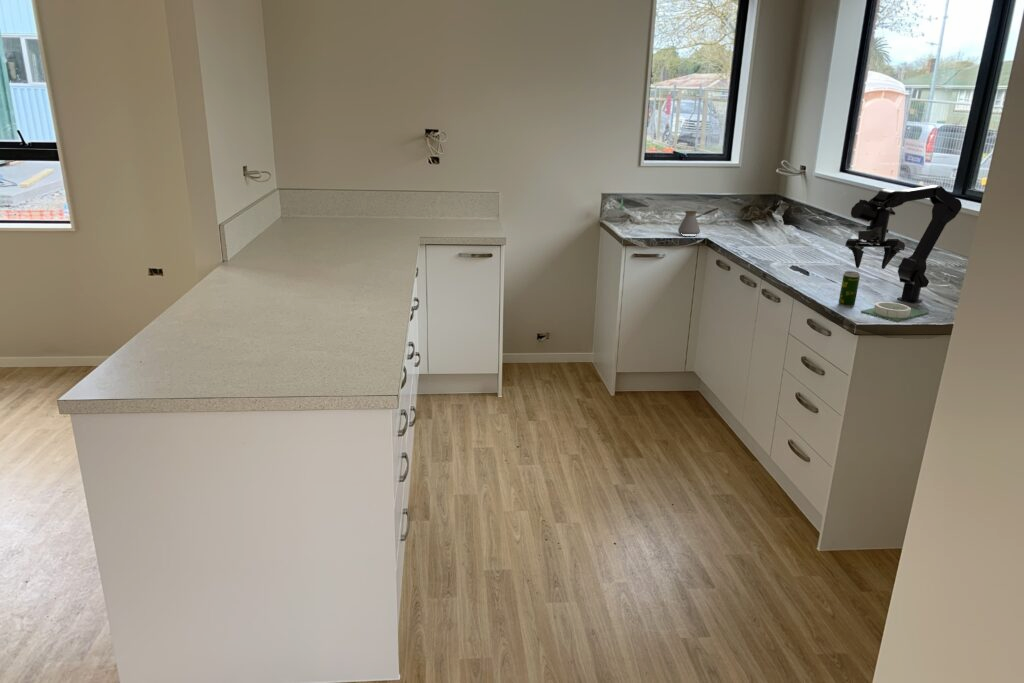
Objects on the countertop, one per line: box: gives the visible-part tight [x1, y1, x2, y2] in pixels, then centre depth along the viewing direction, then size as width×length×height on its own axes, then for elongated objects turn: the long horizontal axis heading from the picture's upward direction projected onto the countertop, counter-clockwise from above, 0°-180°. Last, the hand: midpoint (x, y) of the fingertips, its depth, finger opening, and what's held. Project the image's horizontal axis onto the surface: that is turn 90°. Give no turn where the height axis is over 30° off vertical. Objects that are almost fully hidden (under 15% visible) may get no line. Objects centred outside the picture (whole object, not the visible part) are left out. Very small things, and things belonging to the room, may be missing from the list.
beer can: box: [838, 270, 861, 308], centre depth 259 cm, size 5×5×12 cm
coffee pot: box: [677, 207, 720, 235], centre depth 386 cm, size 21×12×15 cm, turn 99°
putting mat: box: [860, 307, 929, 323], centre depth 253 cm, size 20×13×1 cm, turn 124°
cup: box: [873, 301, 912, 318], centre depth 251 cm, size 11×11×2 cm
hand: (869, 268), depth 256 cm, fingers open, 9 cm apart
